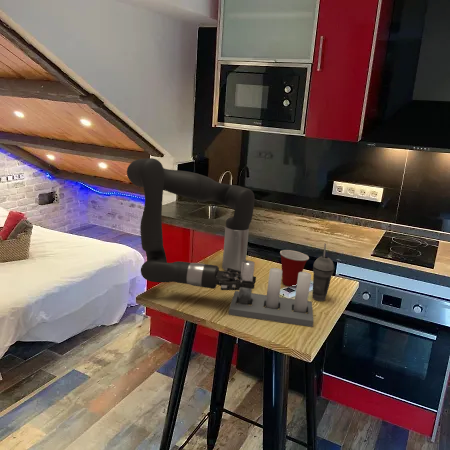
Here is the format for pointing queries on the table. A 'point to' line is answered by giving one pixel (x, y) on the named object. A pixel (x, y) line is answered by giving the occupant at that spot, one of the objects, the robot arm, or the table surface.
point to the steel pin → (246, 275)
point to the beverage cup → (322, 276)
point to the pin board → (278, 302)
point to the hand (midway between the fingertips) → (254, 282)
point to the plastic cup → (292, 266)
